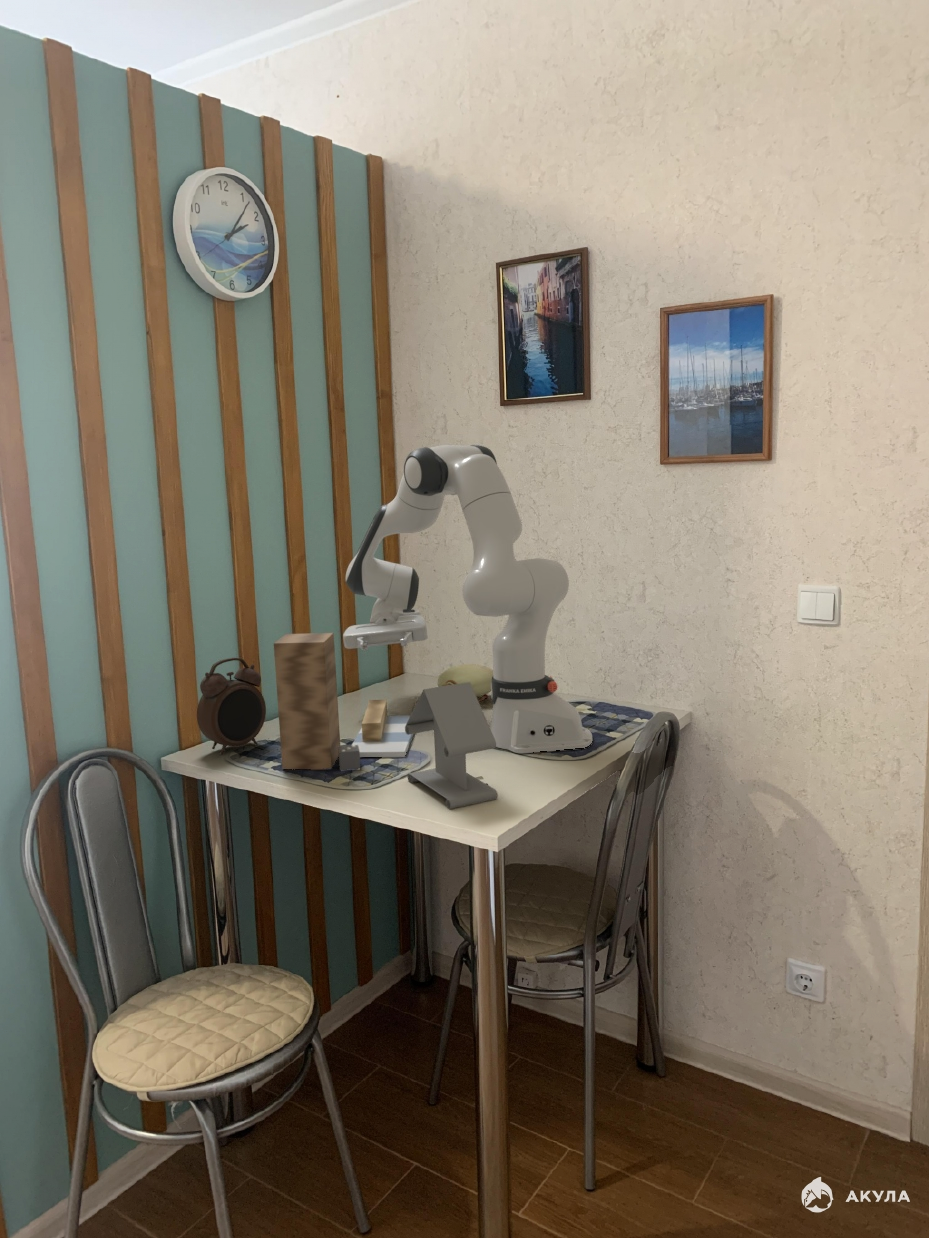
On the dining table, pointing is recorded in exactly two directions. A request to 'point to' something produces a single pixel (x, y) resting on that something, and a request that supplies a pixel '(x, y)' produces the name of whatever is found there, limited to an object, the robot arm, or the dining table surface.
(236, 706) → the alarm clock
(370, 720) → the light wooden block
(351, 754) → the die
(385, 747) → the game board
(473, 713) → the phone stand
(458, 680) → the flask
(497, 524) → the robot arm
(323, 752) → the walnut stand
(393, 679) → the dining table surface
